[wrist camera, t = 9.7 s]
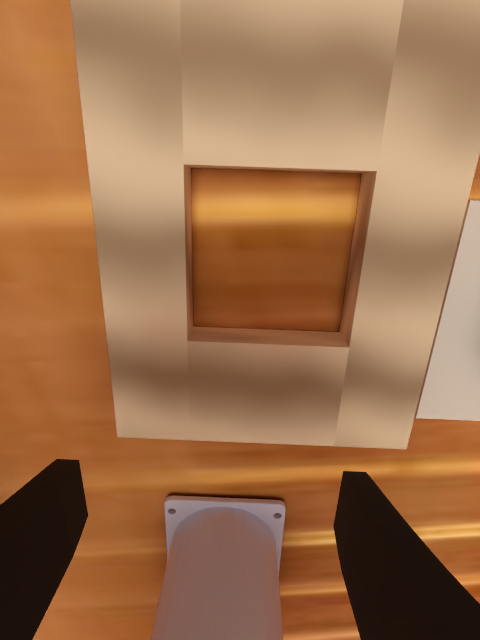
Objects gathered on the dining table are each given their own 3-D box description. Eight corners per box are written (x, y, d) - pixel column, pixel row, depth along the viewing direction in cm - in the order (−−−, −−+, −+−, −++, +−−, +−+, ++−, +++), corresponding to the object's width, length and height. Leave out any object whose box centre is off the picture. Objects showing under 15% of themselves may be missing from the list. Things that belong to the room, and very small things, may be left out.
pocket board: (392, 426, 21) (406, 449, 19) (129, 415, 21) (117, 437, 19) (483, 16, 14) (520, -11, 12) (91, 4, 14) (67, -25, 12)
